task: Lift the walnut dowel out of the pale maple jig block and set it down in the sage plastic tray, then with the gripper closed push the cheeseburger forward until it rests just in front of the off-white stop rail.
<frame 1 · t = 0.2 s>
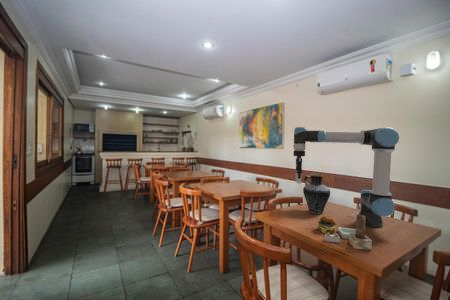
hand: (298, 181, 147), 28 cm above the table, fingers open, 13 cm apart
tray: (349, 235, 128), on the table
stop rail: (332, 240, 121), on the table
dowel: (360, 238, 115), point 4 cm above the table, touching jig block
cheeseburger: (326, 231, 135), on the table
jug: (314, 212, 171), on the table
jig block: (359, 245, 116), on the table
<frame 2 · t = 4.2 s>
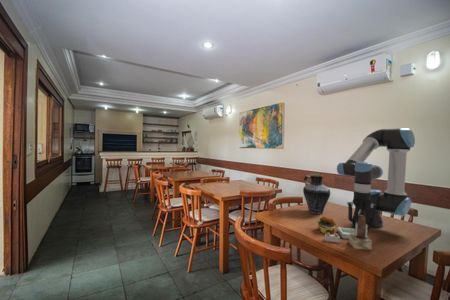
hand: (360, 235, 115), 6 cm above the table, fingers closed on dowel, 4 cm apart
dowel: (360, 238, 115), point 4 cm above the table, touching gripper
everything else where it was.
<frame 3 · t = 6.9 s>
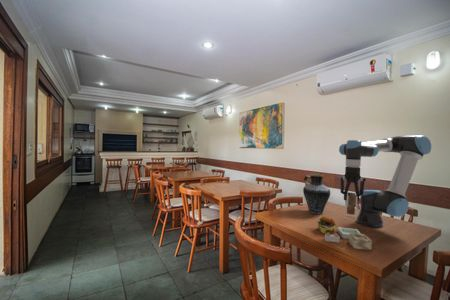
hand: (351, 206, 128), 17 cm above the table, fingers closed on dowel, 4 cm apart
dowel: (350, 213, 128), point 13 cm above the table, touching gripper
everything else where it was.
when the fingers open (4 cm above the table, at t = 9.4 s): dowel stays where it is, resting on tray.
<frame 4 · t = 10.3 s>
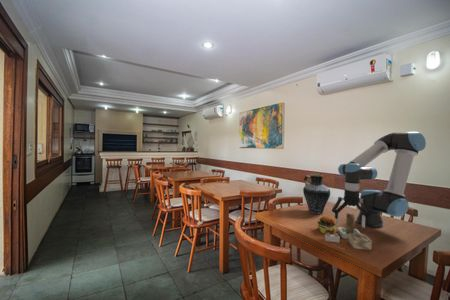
hand: (350, 225, 128), 6 cm above the table, fingers open, 13 cm apart
dowel: (349, 234, 128), point 1 cm above the table, touching tray
everything else where it was.
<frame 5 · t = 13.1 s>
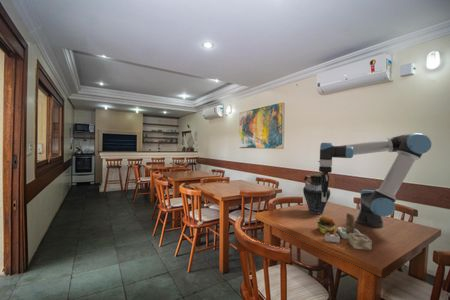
hand: (323, 201, 144), 16 cm above the table, fingers closed
nothing on the table moved.
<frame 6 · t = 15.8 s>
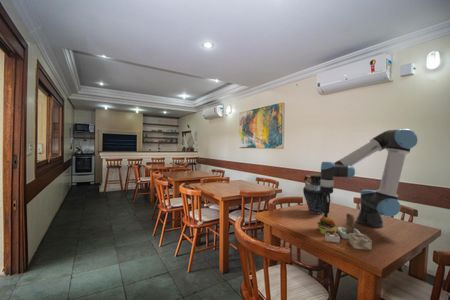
hand: (325, 222, 139), 4 cm above the table, fingers closed
cheeseburger: (326, 232, 133), on the table, touching gripper
everything else where it was.
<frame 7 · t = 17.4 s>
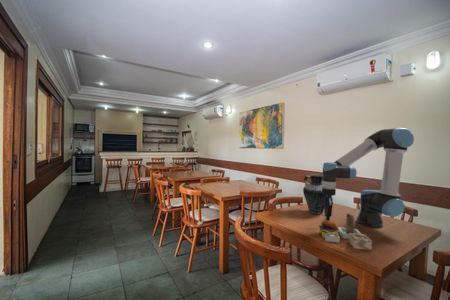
hand: (327, 226, 133), 3 cm above the table, fingers closed
cheeseburger: (327, 236, 127), on the table, touching gripper
everything else where it was.
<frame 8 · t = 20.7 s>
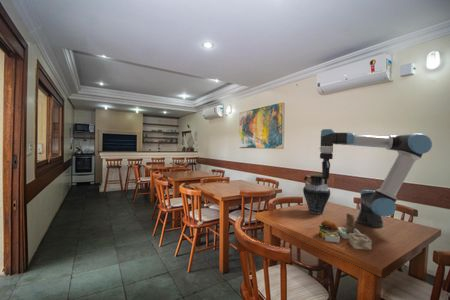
hand: (324, 188, 143), 24 cm above the table, fingers closed
cheeseburger: (327, 236, 127), on the table
everything else where it was.
at the end: dowel inside the target area on the tray (0.1 cm from its centre), point 0.6 cm above the tray's base; cheeseburger inside the target area (1.5 cm from its centre), on the table; cheeseburger moved 8.4 cm from its start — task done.
